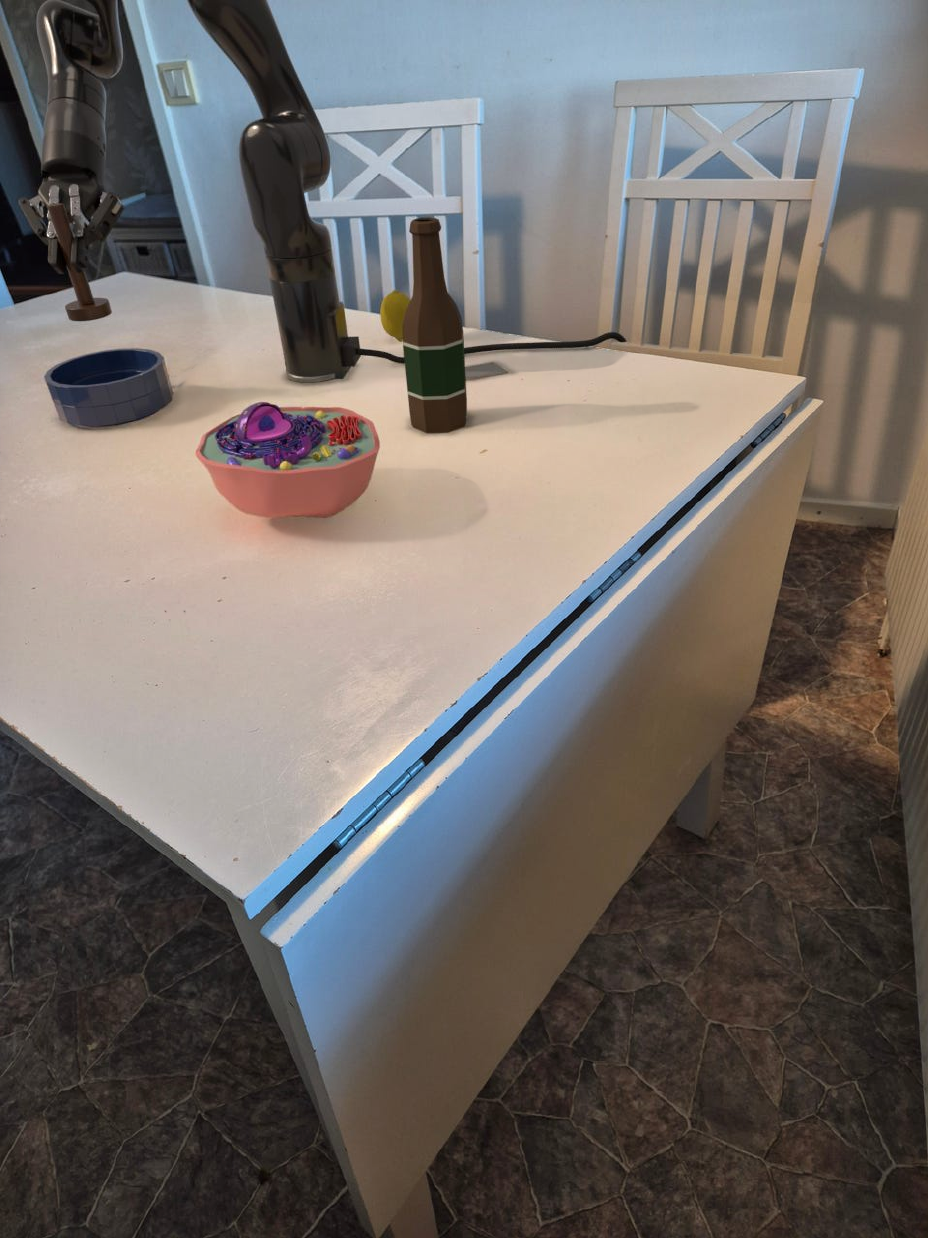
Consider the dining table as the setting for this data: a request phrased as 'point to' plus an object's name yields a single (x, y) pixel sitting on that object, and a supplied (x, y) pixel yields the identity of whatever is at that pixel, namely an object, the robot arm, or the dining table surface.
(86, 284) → the wooden plunger stick
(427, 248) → the beer bottle
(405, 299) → the lemon
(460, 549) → the dining table surface
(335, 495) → the cell model
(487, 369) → the cleaver
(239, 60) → the robot arm
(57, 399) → the blue round bowl
